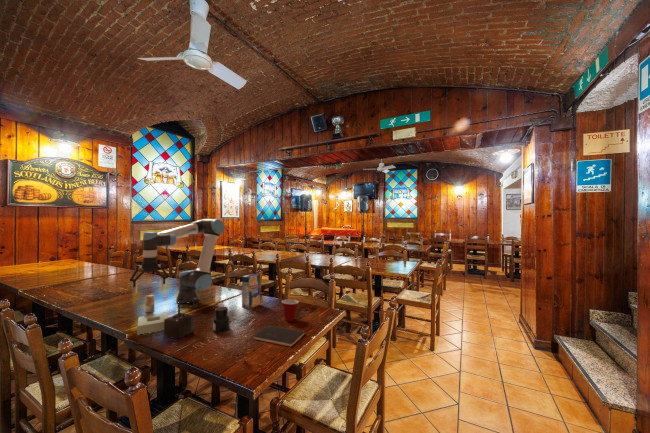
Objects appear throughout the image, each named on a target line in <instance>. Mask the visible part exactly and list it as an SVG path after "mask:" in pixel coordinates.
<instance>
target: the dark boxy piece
mask: <svg viewBox="0 0 650 433" xmlns="http://www.w3.org/2000/svg"><path fill="white" fill-rule="evenodd" d="M200 300H201V299H200V298H199V297H198V298H194V299H193V300H192V301H193V303H192V305H189V306H187V305H185V306H181V304H178V303H177V313H175V314H174V315H172V316H168V317H169V318H167V319H164V331H163V336H164V337H165V336H167V337H166V338H169V337H173V338H172V339H174V338H180V339H181V337H182V338H183V336H184V337H186V336H188V335H190V334H192V333H193V332H194V315H192V314H187V313H183V312H181V309H187V308H195V307H199V305H198V304H199V303H200ZM192 331H193V332H192ZM189 333H190V334H189ZM187 334H188V335H187ZM185 335H186V336H185Z"/></svg>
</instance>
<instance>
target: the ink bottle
mask: <svg viewBox="0 0 650 433" xmlns="http://www.w3.org/2000/svg"><path fill="white" fill-rule="evenodd" d="M228 311H229V309H228V307H227V306H219V307H216V308H215V309H214V315H215V316H214V317H213V318H212V331H213V332H215V333H224V332H227V331H228V330H230V322H231V321H230V316H229V315H228V313H229V312H228Z"/></svg>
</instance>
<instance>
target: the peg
mask: <svg viewBox="0 0 650 433" xmlns="http://www.w3.org/2000/svg"><path fill="white" fill-rule="evenodd" d="M144 300H145V302H144V306H145V307H144V313H145V316H149V315H155V314H154V313H155V294H147V295H145V298H144Z"/></svg>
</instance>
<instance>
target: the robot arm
mask: <svg viewBox="0 0 650 433" xmlns="http://www.w3.org/2000/svg"><path fill="white" fill-rule="evenodd" d="M225 228H226V225H225V223H224V221H223V220H221V219H220V218H202V219H199V220H195V221H192V222H190V223H189V224H186V225H185V224H184V225H181V226H178V227H174V228H171V229H167V230H163V231H158V232H157V231H145V232H143V236H142V265H140V264H137V265H136V269H135V270H134V272H133V273H132V274H131V277H130V278H129V282H132V283H133V284H132V286H133V288H135V294H137V293H138V280H139V278H141V277H142V275H143V274H144V273H145V272H146V273H150V272H151V273H152V272H155V273H156V274H157V275H158V276H160V278H161V290H162V291H163V290H164V285H166V280H167V279H168V278H169V275H168V273H167V272H166V270H165V268H164V266H163V265H164V264H163V263H159V264H158V257H157V256H158V247H168V246H169V247H171V246H175V245H176V243H177V239H179V238H183V237H185V236H190V235H193V234H194V235H197V234H203V235H204V239H203V244H202V248H201V252H200V254H199V259H198V264H197V266H196V268H195V269H190V270H189V269H188V270H184V271H180V272H179V273H178V274H179V275H178V293H177V296H176V300H175V303H176V302H179V303H187V302H193V301H192V300H193V299H194V298H199V294H198V292H197V291H205V290H207V289H208V288H210V286H211V284H212V282H213V278H212V276H211V273H212V272H211V271H210V270H211V269H210V268H211V264H212V260H213V256H214V252H215V248H216V244H217V239H219V238H220V236H221V234H223V233H224V232H225ZM158 267H159V268H160V269H161V270H162V272H160V270H158V269H157V268H158ZM140 269H142V270H141V272H140V273H138V271H139V270H140ZM137 273H138V275H137ZM162 273H163V274H162ZM135 276H136V277H135Z"/></svg>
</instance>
